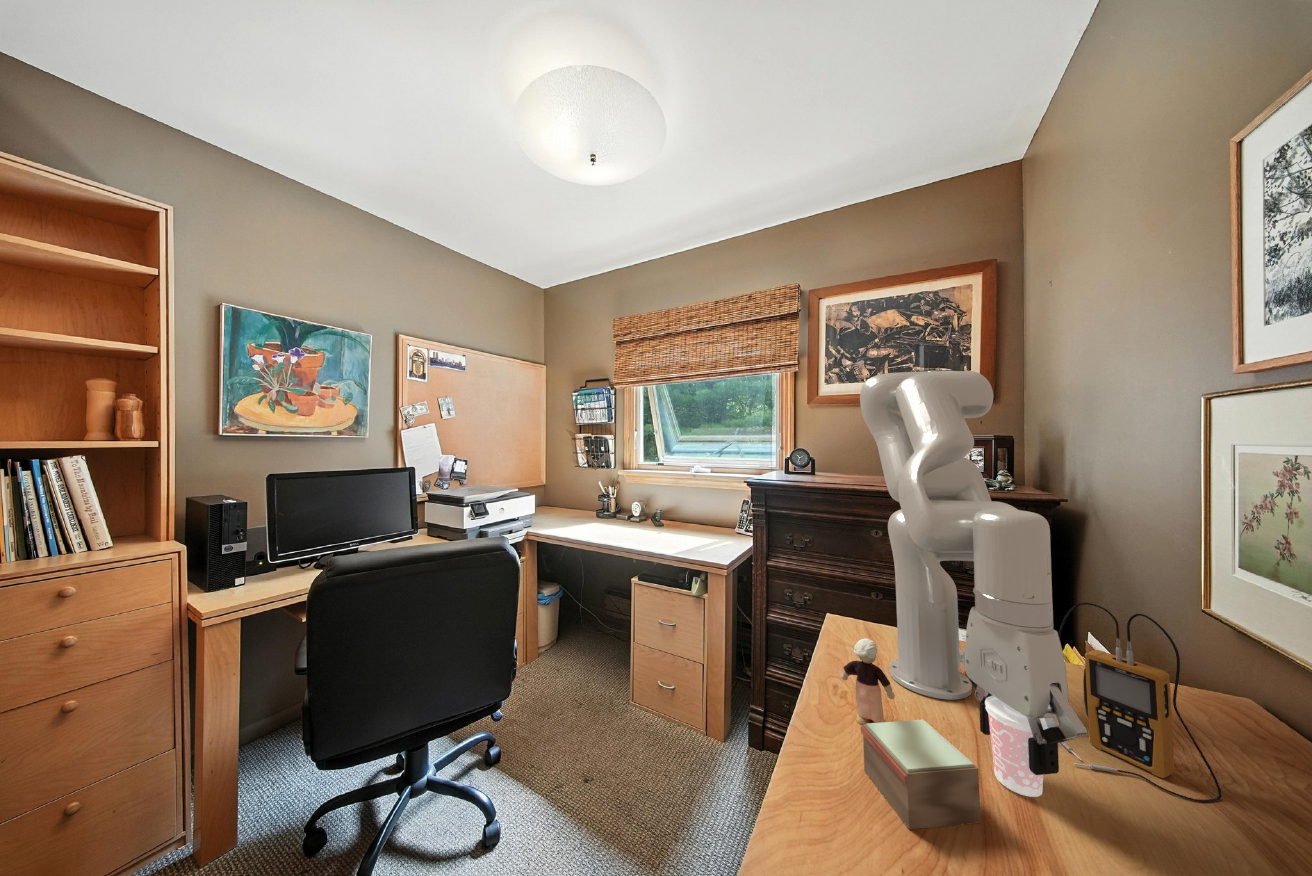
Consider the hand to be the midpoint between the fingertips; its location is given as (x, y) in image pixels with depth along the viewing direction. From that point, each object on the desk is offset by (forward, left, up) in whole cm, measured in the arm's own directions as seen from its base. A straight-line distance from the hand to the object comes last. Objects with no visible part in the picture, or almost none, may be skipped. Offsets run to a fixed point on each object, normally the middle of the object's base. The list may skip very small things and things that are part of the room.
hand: (1016, 749), depth 52 cm
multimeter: (-15, +5, -5) cm, 16 cm away
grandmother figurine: (+5, -17, -4) cm, 18 cm away
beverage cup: (0, 0, -4) cm, 4 cm away
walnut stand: (+12, -6, -4) cm, 14 cm away
